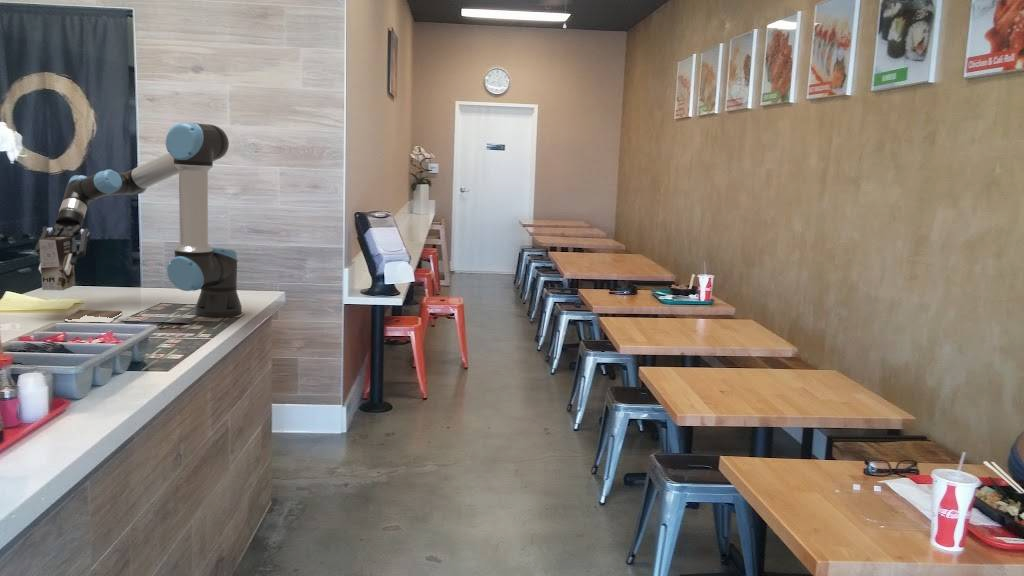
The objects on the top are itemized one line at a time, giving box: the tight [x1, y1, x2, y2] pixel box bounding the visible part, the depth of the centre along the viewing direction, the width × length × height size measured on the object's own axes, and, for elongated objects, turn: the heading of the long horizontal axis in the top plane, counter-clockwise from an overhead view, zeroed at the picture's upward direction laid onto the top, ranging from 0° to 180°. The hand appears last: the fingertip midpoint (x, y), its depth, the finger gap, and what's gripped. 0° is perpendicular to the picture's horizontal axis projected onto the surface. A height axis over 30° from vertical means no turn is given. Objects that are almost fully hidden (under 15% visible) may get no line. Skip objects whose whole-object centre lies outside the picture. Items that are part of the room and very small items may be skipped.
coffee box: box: [38, 236, 76, 291], centre depth 240 cm, size 9×6×16 cm
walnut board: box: [64, 309, 123, 320], centre depth 245 cm, size 13×13×1 cm
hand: (53, 271), depth 238 cm, fingers closed on coffee box, 7 cm apart
